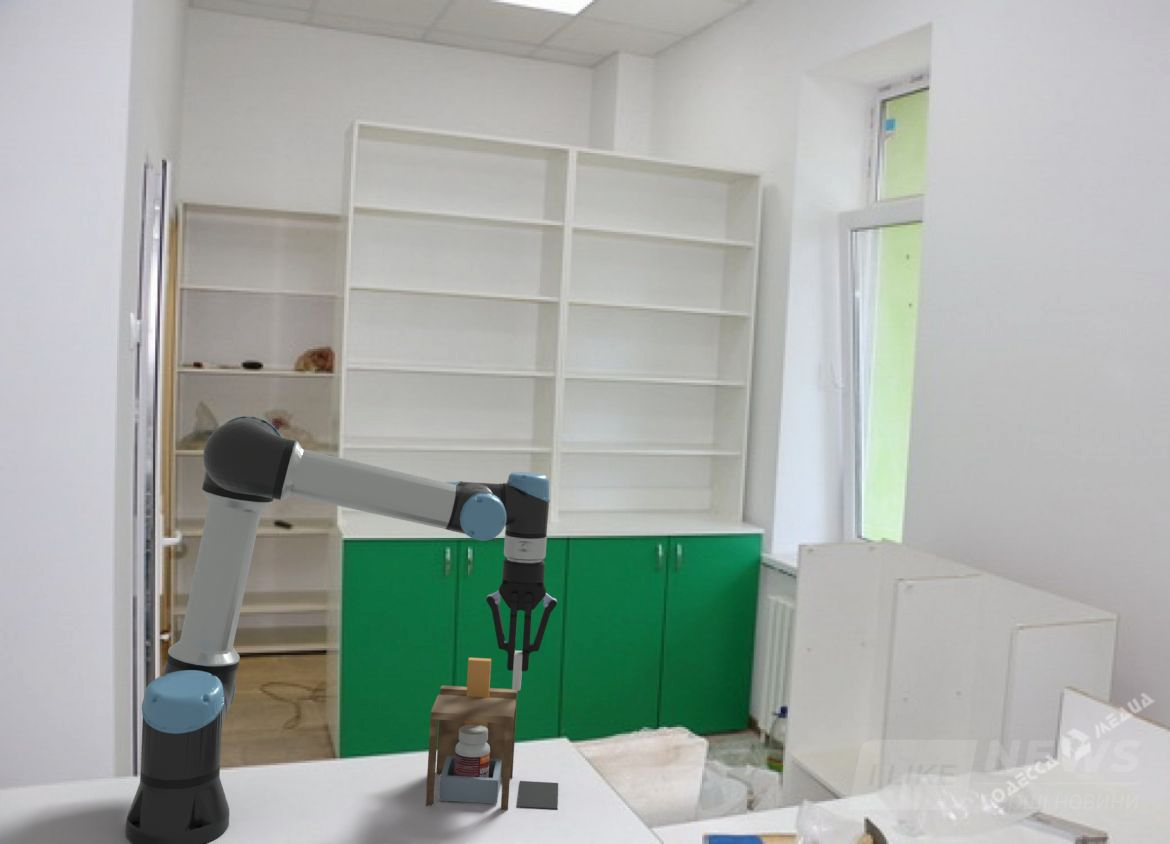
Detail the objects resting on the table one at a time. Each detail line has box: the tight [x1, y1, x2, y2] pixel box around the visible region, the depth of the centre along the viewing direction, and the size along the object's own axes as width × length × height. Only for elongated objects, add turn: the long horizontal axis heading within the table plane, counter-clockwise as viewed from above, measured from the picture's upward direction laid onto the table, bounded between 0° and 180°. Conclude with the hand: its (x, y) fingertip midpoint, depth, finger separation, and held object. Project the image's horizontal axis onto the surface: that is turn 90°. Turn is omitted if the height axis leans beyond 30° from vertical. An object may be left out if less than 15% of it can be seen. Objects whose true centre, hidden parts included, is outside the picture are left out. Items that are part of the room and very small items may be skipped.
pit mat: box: [516, 780, 559, 810], centre depth 183 cm, size 7×11×1 cm, turn 1°
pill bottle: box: [454, 725, 490, 778], centre depth 182 cm, size 6×6×11 cm
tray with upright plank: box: [438, 657, 502, 804], centre depth 182 cm, size 10×10×22 cm
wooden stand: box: [425, 685, 518, 811], centre depth 183 cm, size 14×15×16 cm
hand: (516, 688), depth 187 cm, fingers closed
